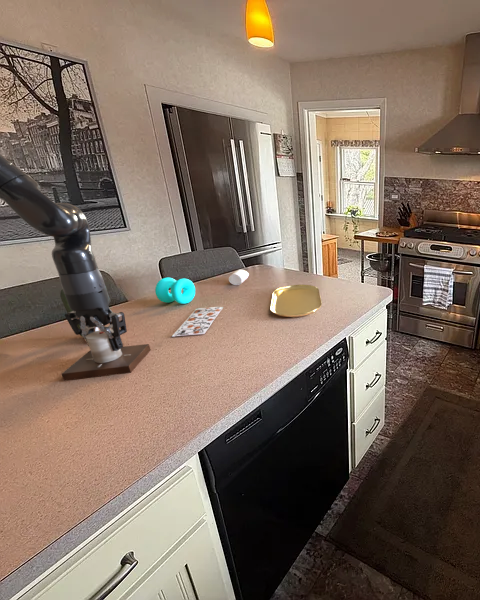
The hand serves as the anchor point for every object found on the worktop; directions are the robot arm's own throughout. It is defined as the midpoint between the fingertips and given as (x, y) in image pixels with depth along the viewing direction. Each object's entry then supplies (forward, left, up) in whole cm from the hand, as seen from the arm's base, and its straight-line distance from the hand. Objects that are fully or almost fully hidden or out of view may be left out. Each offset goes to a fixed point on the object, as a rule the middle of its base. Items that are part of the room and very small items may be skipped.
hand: (106, 348), depth 85 cm
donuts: (+2, +46, -5) cm, 46 cm away
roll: (+21, +70, -5) cm, 73 cm away
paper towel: (+15, +25, -5) cm, 29 cm away
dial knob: (0, 0, -2) cm, 2 cm away
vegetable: (-16, +21, -5) cm, 27 cm away
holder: (0, 0, -5) cm, 5 cm away
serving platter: (+47, +36, -5) cm, 59 cm away
